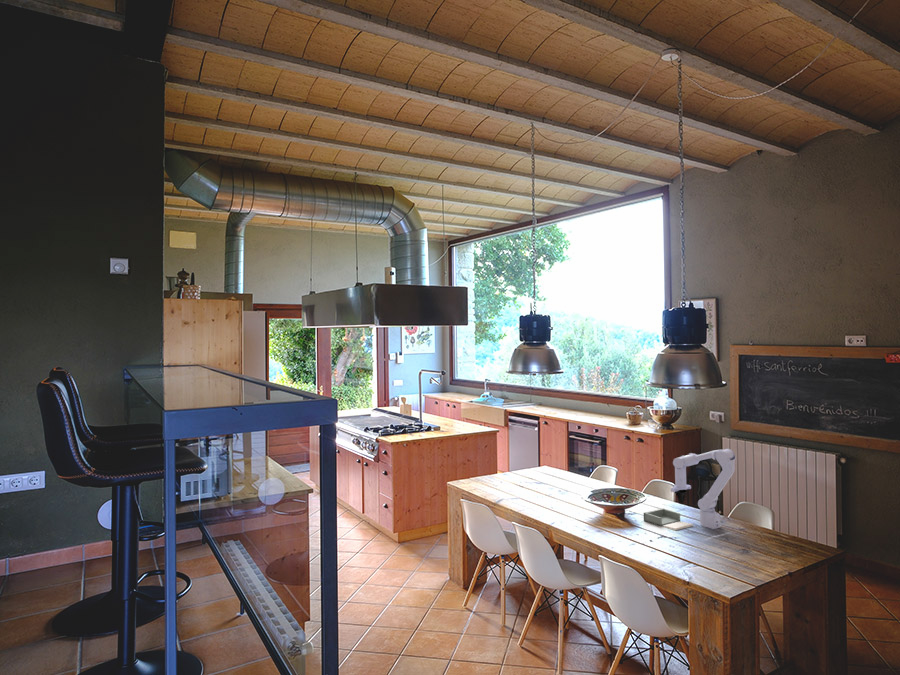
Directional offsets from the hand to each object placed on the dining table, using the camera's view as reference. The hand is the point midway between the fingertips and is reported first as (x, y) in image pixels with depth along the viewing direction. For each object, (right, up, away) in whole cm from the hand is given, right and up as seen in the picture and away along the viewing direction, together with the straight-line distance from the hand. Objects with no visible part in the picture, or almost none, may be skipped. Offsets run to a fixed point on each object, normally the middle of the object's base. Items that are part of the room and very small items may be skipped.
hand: (681, 503), depth 302 cm
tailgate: (-7, -9, -12) cm, 16 cm away
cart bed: (-12, -10, -3) cm, 16 cm away
